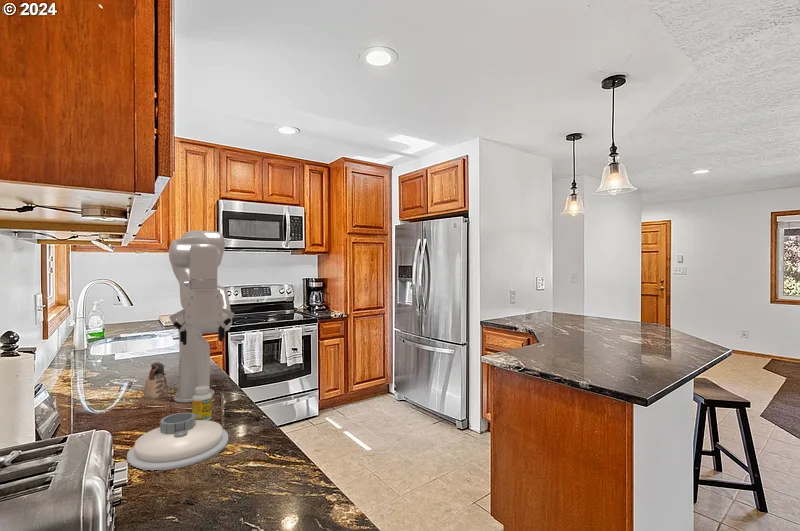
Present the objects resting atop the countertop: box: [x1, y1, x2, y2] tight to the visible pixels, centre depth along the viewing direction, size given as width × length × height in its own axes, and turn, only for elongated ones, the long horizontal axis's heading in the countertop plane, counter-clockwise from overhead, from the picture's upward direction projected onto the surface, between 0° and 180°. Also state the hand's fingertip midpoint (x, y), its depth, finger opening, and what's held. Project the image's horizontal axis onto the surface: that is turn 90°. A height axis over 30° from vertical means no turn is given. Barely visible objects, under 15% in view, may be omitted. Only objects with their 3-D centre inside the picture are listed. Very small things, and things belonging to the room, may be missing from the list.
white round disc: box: [134, 412, 223, 462], centre depth 96 cm, size 19×19×4 cm
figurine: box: [143, 361, 169, 400], centre depth 135 cm, size 7×7×12 cm
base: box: [126, 428, 229, 472], centre depth 96 cm, size 22×22×1 cm
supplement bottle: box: [191, 385, 213, 421], centre depth 114 cm, size 5×5×10 cm
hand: (202, 342), depth 114 cm, fingers open, 9 cm apart
